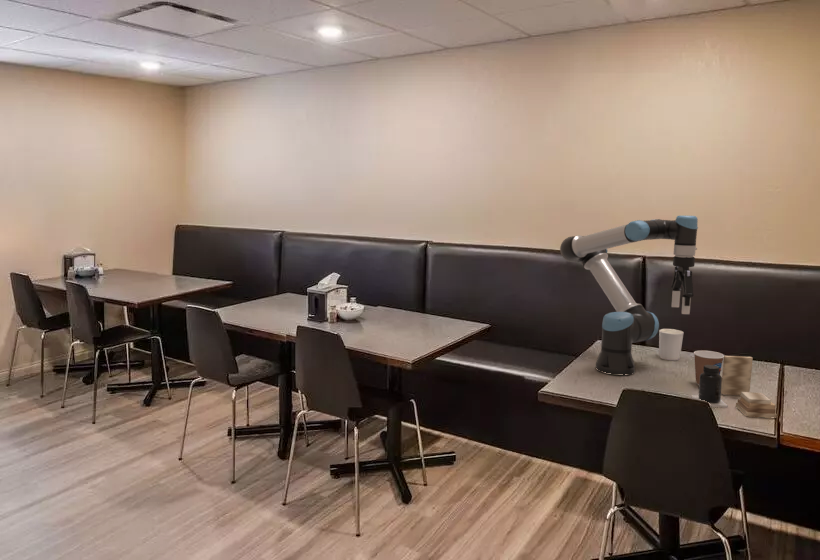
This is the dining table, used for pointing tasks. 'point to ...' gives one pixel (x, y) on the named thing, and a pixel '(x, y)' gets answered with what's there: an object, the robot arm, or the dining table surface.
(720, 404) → the grey pad
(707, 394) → the supplement bottle
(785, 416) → the dining table surface
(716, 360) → the coffee cup
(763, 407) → the set of wooden blocks
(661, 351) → the white paper cup
